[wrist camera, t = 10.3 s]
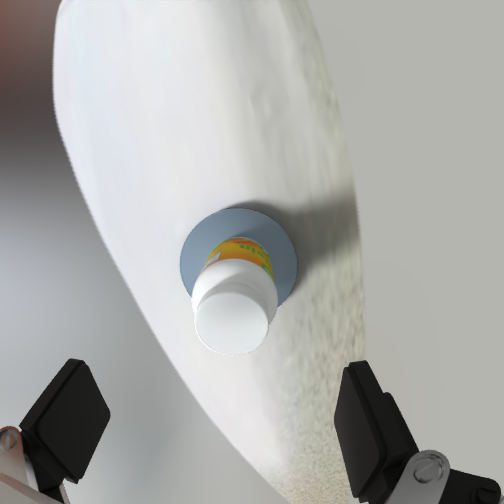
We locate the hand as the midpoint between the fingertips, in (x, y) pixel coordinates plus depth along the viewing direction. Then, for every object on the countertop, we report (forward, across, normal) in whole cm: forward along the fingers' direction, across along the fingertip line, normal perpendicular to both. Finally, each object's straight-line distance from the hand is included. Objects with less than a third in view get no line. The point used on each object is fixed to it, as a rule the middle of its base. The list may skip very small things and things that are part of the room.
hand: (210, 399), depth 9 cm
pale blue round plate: (+17, 0, +1) cm, 17 cm away
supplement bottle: (+16, 0, +1) cm, 16 cm away
